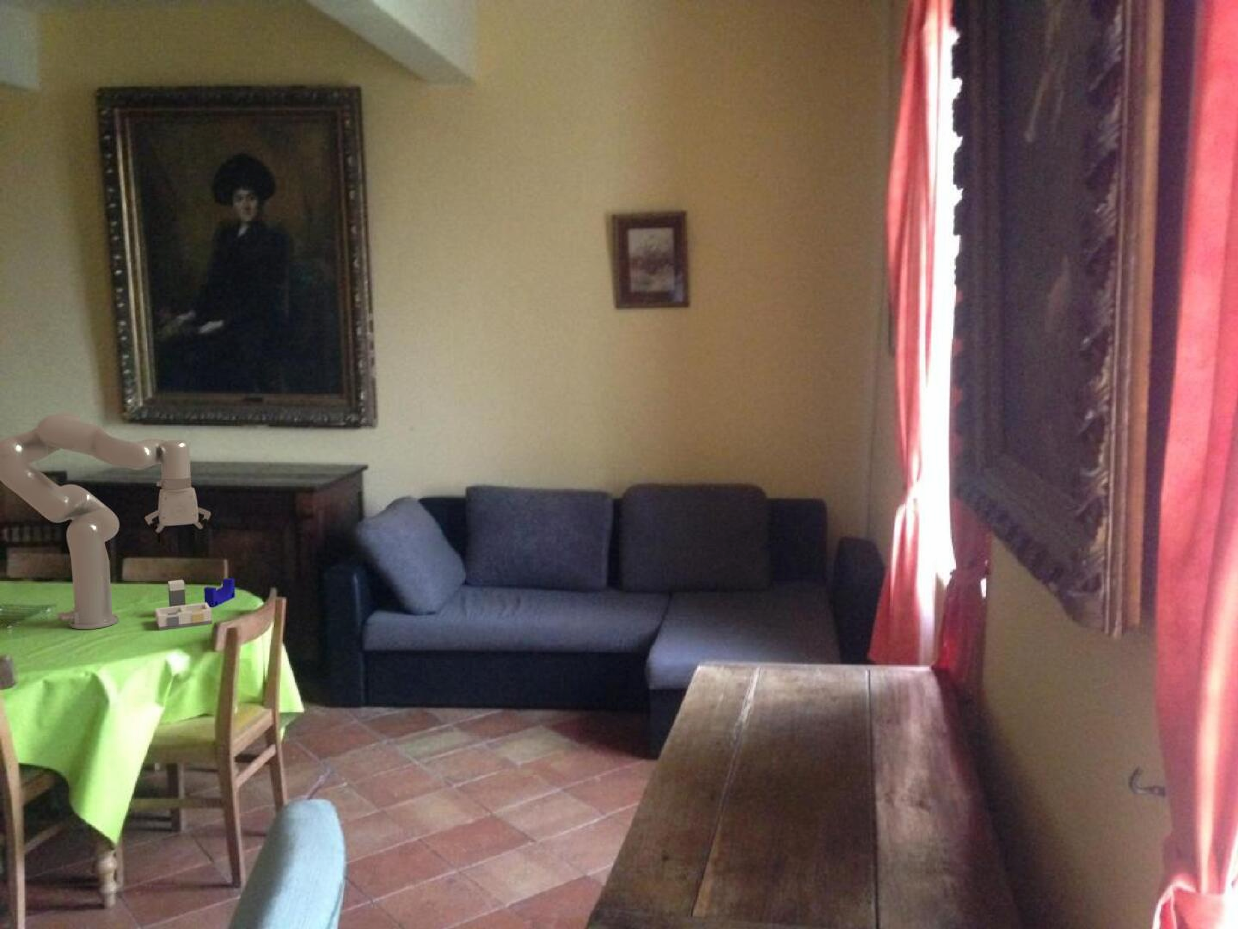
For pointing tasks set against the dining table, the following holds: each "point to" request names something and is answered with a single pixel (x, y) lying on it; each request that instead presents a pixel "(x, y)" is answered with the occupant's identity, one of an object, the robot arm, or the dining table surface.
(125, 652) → the dining table surface
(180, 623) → the socket strip
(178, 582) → the plug
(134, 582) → the dining table surface
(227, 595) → the blue notched block
